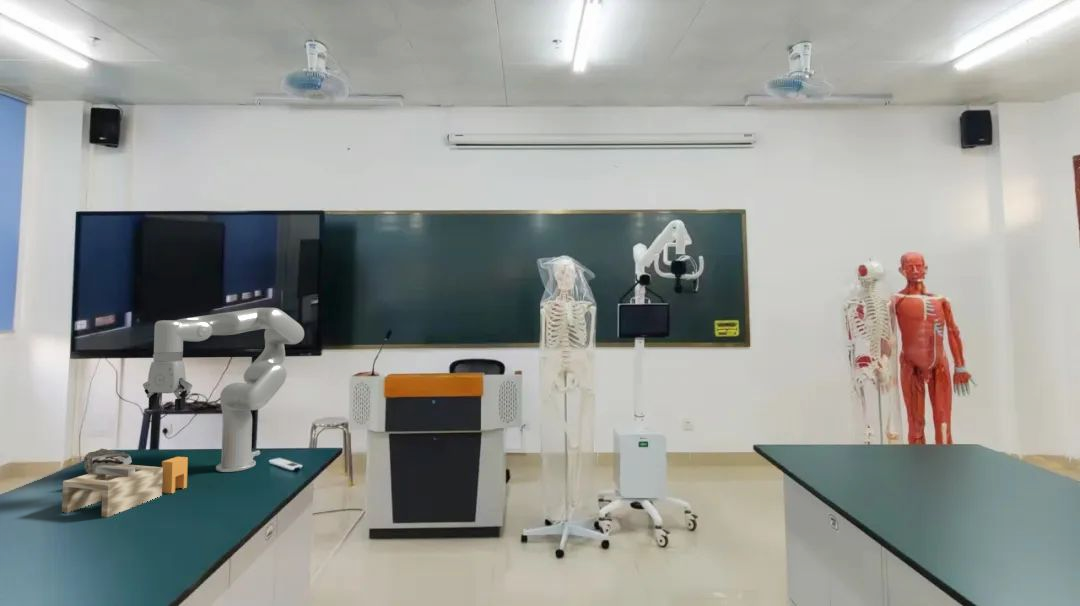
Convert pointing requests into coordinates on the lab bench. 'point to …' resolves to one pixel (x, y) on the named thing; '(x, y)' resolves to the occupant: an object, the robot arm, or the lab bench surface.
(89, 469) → the pumice stone
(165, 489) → the tall wooden brick
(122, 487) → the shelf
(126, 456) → the food container
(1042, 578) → the lab bench surface
